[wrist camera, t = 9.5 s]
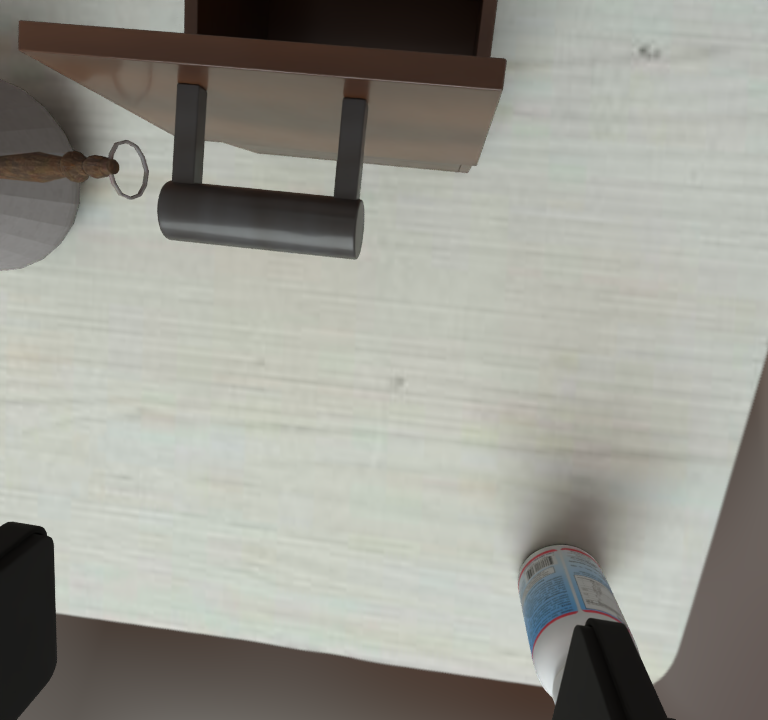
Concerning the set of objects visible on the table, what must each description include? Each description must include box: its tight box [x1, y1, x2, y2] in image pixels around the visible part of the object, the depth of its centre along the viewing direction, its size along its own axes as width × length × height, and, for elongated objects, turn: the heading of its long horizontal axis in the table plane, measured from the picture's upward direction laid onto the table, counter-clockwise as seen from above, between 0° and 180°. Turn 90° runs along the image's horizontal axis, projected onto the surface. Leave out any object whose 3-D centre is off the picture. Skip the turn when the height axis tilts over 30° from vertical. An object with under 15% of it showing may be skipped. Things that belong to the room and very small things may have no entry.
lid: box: [18, 20, 507, 260], centre depth 21 cm, size 10×13×5 cm
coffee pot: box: [0, 79, 149, 271], centre depth 31 cm, size 21×12×15 cm, turn 88°
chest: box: [184, 0, 498, 173], centre depth 30 cm, size 10×13×11 cm
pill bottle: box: [518, 545, 640, 705], centre depth 36 cm, size 6×6×11 cm
